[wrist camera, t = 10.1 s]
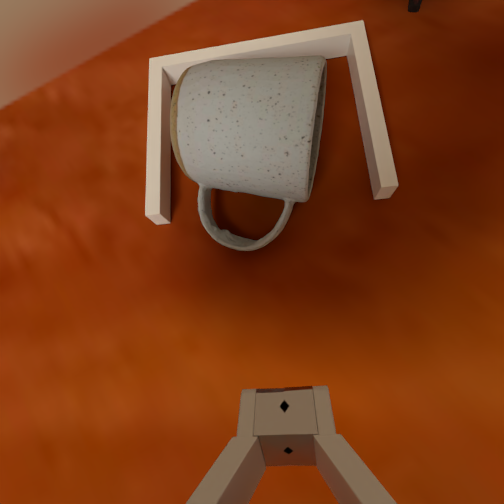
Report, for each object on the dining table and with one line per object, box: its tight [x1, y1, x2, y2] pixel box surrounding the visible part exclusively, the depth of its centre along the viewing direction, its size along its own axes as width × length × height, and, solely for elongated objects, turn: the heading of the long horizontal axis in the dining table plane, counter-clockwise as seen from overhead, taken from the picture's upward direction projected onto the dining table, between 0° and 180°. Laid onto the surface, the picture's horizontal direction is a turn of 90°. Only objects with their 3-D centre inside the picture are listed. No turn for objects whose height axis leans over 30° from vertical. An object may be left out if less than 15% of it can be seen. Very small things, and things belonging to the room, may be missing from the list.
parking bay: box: [145, 20, 398, 225], centre depth 22 cm, size 16×13×2 cm
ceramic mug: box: [170, 56, 327, 251], centre depth 18 cm, size 11×8×8 cm
